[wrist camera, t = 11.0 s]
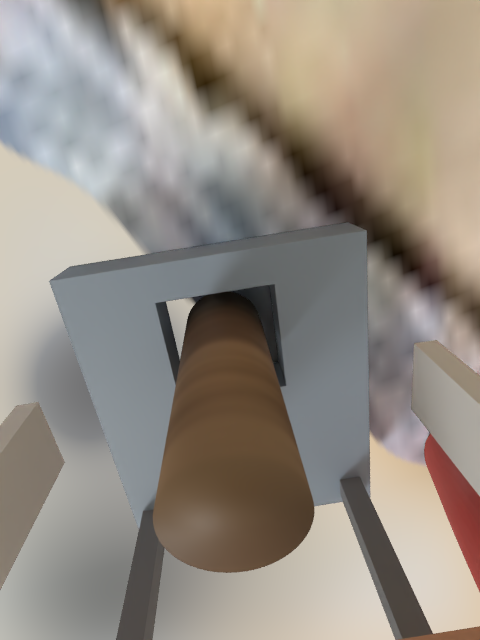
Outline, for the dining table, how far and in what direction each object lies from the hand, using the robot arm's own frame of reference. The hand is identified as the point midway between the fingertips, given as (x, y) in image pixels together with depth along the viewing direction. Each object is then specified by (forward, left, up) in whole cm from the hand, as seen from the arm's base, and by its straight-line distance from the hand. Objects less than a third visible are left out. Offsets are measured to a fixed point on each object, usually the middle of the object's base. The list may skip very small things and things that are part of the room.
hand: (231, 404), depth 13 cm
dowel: (0, 0, -8) cm, 8 cm away
